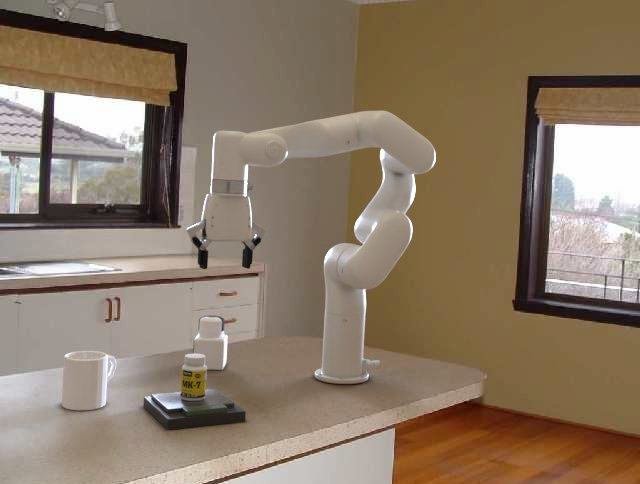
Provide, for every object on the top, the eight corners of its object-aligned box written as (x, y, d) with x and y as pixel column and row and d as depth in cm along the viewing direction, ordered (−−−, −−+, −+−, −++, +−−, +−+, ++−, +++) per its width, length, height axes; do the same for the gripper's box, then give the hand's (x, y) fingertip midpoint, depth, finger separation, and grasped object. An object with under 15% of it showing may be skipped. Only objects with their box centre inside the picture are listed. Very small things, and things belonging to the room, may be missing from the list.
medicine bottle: (196, 362, 213) (198, 313, 212) (226, 363, 213) (228, 314, 213) (192, 369, 206) (194, 318, 205) (222, 370, 206) (225, 319, 206)
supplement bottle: (177, 400, 169) (179, 357, 169) (183, 394, 174) (185, 352, 173) (202, 402, 169) (204, 359, 169) (207, 395, 174) (209, 353, 173)
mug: (129, 400, 177) (131, 351, 177) (82, 413, 167) (84, 362, 166) (100, 393, 181) (103, 345, 181) (52, 405, 171) (55, 355, 170)
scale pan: (214, 392, 180) (214, 388, 179) (234, 406, 170) (234, 402, 170) (151, 398, 173) (151, 394, 173) (167, 413, 163) (168, 409, 163)
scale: (216, 399, 181) (216, 385, 181) (245, 421, 168) (246, 406, 168) (143, 406, 173) (144, 391, 173) (167, 430, 160) (168, 413, 160)
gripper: (259, 189, 196) (255, 265, 197) (183, 186, 187) (180, 266, 187) (273, 191, 189) (269, 269, 190) (195, 188, 180) (191, 271, 181)
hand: (224, 268), depth 189 cm, fingers open, 9 cm apart
